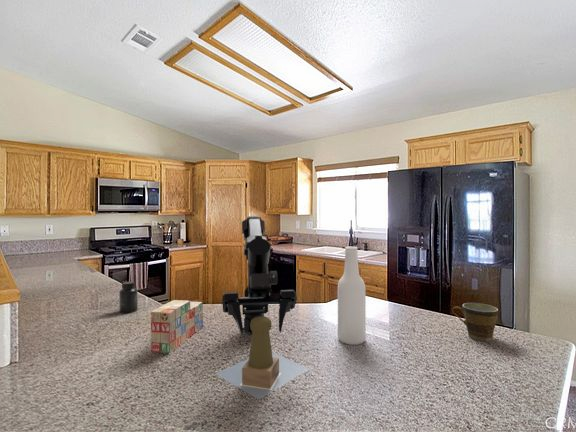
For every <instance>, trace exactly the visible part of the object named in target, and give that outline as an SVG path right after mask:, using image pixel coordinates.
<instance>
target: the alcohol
mask: <svg viewBox="0 0 576 432" xmlns="http://www.w3.org/2000/svg"><path fill="white" fill-rule="evenodd" d="M344 249H345V250H344V269H343V275H341V277H340V278H339V280H338V282H337V338H338V340H339V342H341V343H342V344H345V345H351V346H359V345H362V344H364V342H365V340H366V338H367V337H366V336H367V335H366V334H367V333H366V332H367V331H366V330H367V329H366V325H367V324H366V321H367V320H366V319H367V318H366V312H367V311H366V306H367V305H366V304H367V302H366V296H367V295H366V284H365V283H366V282H365V280H364V279H363V278H362V277H361V275H360V271H359V259H358V258H359V257H358V252H359V251H358V249H359V248H358V247H357V246H354V245H353V246H349V245H348V246H345V247H344Z"/></svg>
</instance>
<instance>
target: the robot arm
mask: <svg viewBox="0 0 576 432" xmlns="http://www.w3.org/2000/svg"><path fill="white" fill-rule="evenodd" d="M265 223H266V222H265V220H263V219H262V217H261V216H259V215H257V216H256V215H255V216H253V215H251V216H246V219H244V220H242V221H241V234H242V235H243V240H244V242H245V243H244V244H243V257H245V258H246V260H247V286H246V288H245V290H244V293H243V294H244V296H242V297H241V296H240V297H239V292H238V291H235V292H234V291H231V292H224V293H223V294H222V299H221V301H222V312H223V313H225V314H226V313H227V314H228V316H232V318H233V320H234V321H235V323H236V325H237V328H238V331H239V332H240V335H241V336H243V335H244V332H247V333H249V334H252V331H251V329H250V322H251V320H252V319H253V318H255V317H258V316H265V314H267V313H268V312H269V305H272V304H275V305H276V304H278V305H279V309H278V332H279V333H282V330H283V324H284V320H285V316H286V315H287V313H289V312H290V311H291V310H293V309H295V308H296V307H295V306H296V303H297V300H298V299H297V298H298V297H297V292H296V291H295V290H294V289H280V292H279V295H271V294H272V286H275V285H277V284H278V278H279V277H278V272H277V271H278V270H270V271H269V266H268V265H269V262H270V261H269V260H270V256H271V255H272V253H274V248H273V247H272V245H271V243H270V242H269V241H268V239H267V237H266V236H264V234H265V231H266V227H265V226H266V225H265ZM241 306H242V307H241ZM241 309H242V310H241ZM241 311H242V312H241ZM243 315H244V318H243V319H242V316H243Z"/></svg>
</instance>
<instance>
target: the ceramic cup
mask: <svg viewBox="0 0 576 432" xmlns="http://www.w3.org/2000/svg"><path fill="white" fill-rule="evenodd" d="M455 309H458V310H460V311H461V313H462V314H463V316H464V320H463V319H462V317H461V316H459V315H457V313H455V312H454V310H455ZM451 310H452V311H451V312H452V313H453V314H454V315H455V317H457V318H458V319H459V320H460V321H461V322H462V323H463V324H464V326H465V327H466V329H467V330H466V331H467V336H468V338H471V339H472V340H475V341H480V342H484V343H485V342H491V341H493V338H494V332H495V328H496V327H495V326H496V323H497V320H498V315H499V309H498V308H497V307H495V306H493V305H491V304H485V303H479V302H466V303H463V304H462V307H460V306H458V305H457V306H454V307H453V308H452V309H451Z"/></svg>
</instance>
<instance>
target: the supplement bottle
mask: <svg viewBox="0 0 576 432" xmlns="http://www.w3.org/2000/svg"><path fill="white" fill-rule="evenodd" d="M135 283H136V282H135V281H125V282H124V281H123V282H122V283H121V289H120V291H119V293H118V296H119V300H118V301H119V305H118V306H119V313H121V314H130V313H134V312H136V311H138V305H139V303H138V301H139V299H138V293H139V292H138V289H137V288H136V284H135Z"/></svg>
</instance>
